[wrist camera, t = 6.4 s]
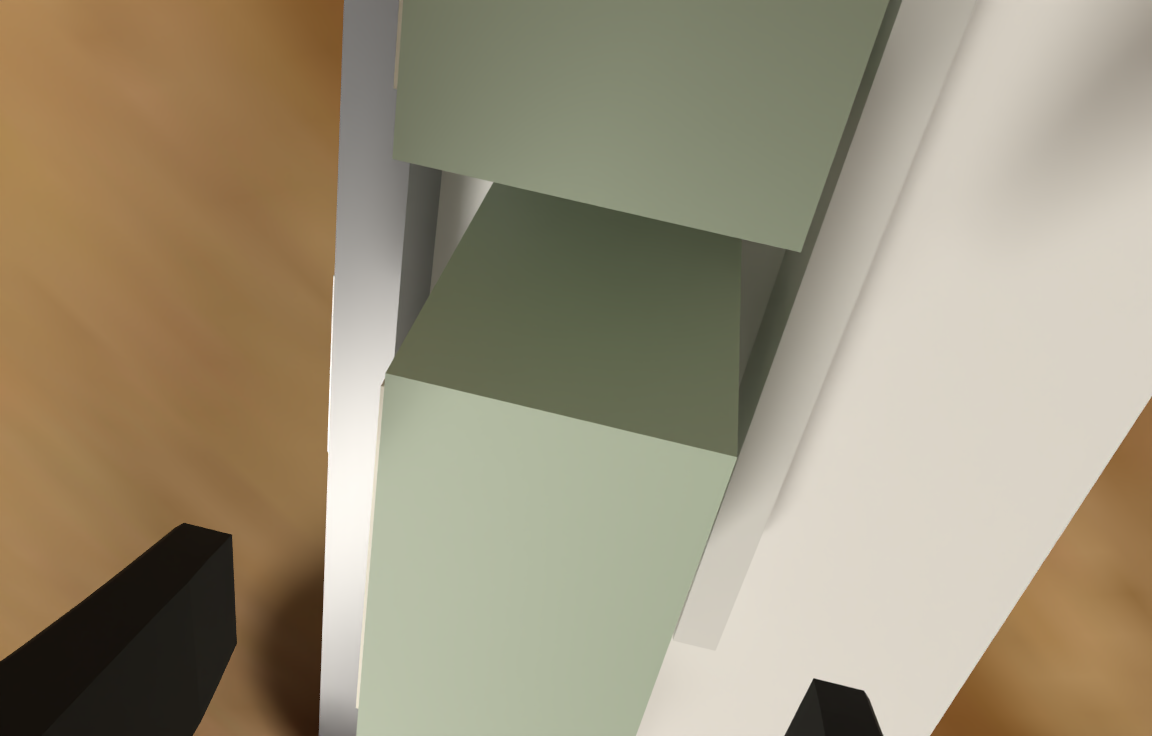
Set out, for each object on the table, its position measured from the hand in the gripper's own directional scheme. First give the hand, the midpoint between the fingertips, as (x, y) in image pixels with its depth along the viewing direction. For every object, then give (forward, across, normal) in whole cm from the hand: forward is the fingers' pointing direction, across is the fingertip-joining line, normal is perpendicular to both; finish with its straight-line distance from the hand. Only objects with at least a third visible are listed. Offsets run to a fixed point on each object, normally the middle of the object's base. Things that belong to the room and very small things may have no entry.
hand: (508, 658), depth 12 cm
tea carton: (+6, 0, 0) cm, 6 cm away
